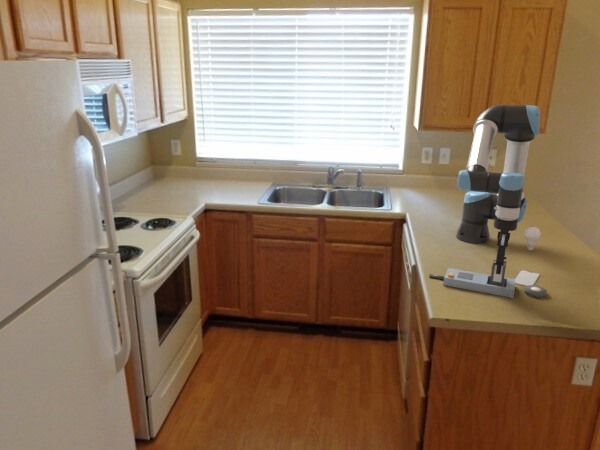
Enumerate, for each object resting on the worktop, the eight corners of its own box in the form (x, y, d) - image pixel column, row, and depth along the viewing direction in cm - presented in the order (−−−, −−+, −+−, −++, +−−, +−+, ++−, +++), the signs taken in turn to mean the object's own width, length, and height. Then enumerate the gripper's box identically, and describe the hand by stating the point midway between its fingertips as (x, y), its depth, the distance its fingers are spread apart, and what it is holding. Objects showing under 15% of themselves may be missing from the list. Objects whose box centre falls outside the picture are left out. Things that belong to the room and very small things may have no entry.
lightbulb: (518, 249, 209) (522, 225, 206) (529, 247, 211) (532, 224, 208) (530, 253, 203) (534, 230, 200) (540, 251, 206) (545, 228, 202)
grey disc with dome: (524, 288, 171) (525, 283, 170) (545, 291, 168) (546, 287, 167) (524, 295, 165) (525, 291, 164) (546, 299, 162) (547, 294, 161)
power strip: (431, 272, 184) (432, 263, 183) (514, 286, 172) (515, 277, 171) (427, 281, 175) (427, 272, 174) (513, 297, 163) (514, 287, 162)
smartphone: (511, 282, 175) (520, 269, 186) (511, 283, 175) (520, 270, 187) (532, 287, 171) (541, 273, 182) (532, 289, 171) (540, 275, 182)
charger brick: (489, 284, 173) (492, 259, 170) (502, 286, 171) (506, 261, 168) (488, 288, 169) (491, 263, 166) (502, 291, 167) (505, 265, 164)
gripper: (496, 209, 170) (488, 268, 178) (493, 222, 156) (484, 286, 163) (518, 212, 167) (509, 271, 175) (517, 225, 152) (507, 290, 160)
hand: (497, 278), depth 169 cm, fingers closed on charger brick, 4 cm apart
